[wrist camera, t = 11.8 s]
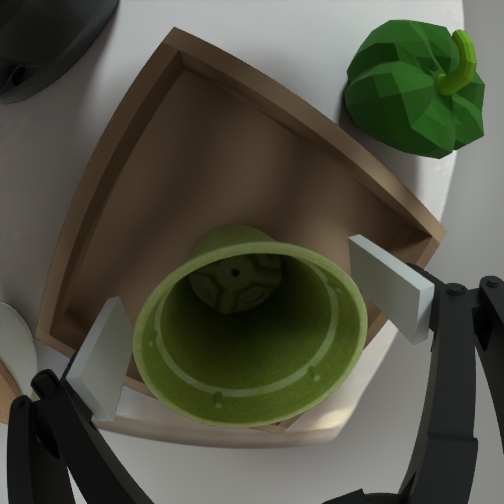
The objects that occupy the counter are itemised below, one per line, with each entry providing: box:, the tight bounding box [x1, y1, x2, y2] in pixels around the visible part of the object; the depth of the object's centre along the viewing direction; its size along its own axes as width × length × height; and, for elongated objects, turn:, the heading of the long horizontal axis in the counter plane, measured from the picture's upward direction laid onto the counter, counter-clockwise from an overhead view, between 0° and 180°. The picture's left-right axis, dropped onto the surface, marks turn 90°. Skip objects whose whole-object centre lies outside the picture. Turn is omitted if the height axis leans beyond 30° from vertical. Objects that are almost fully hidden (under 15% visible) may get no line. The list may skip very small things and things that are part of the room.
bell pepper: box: [344, 20, 485, 159], centre depth 13 cm, size 8×8×10 cm
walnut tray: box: [35, 27, 447, 434], centre depth 18 cm, size 20×20×5 cm
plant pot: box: [133, 224, 368, 428], centre depth 15 cm, size 9×9×9 cm
